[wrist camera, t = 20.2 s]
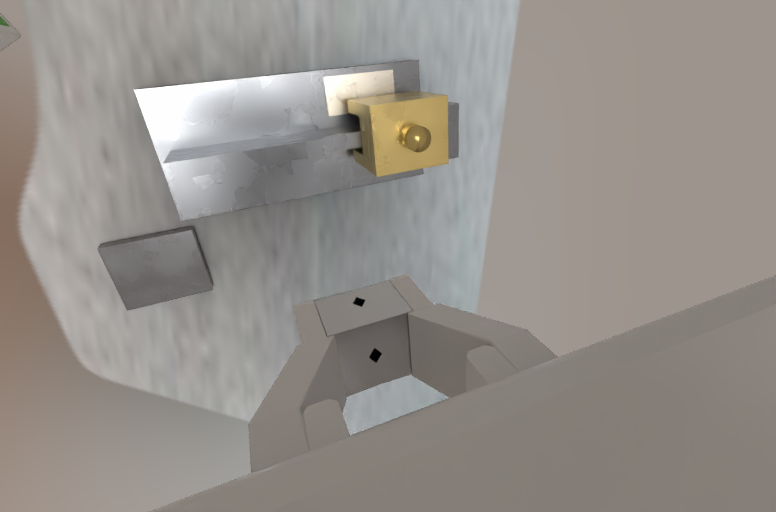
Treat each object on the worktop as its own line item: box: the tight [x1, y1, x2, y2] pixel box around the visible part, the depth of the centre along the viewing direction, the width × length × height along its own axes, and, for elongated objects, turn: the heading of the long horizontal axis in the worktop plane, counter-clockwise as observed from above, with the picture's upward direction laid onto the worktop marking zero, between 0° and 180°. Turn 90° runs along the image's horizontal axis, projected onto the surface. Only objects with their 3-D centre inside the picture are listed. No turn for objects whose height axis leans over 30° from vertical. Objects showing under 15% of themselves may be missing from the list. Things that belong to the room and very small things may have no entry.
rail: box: [134, 60, 459, 221], centre depth 30 cm, size 10×22×8 cm, turn 95°
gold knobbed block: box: [347, 91, 448, 177], centre depth 30 cm, size 5×6×7 cm
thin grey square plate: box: [98, 226, 213, 311], centre depth 34 cm, size 6×7×1 cm
